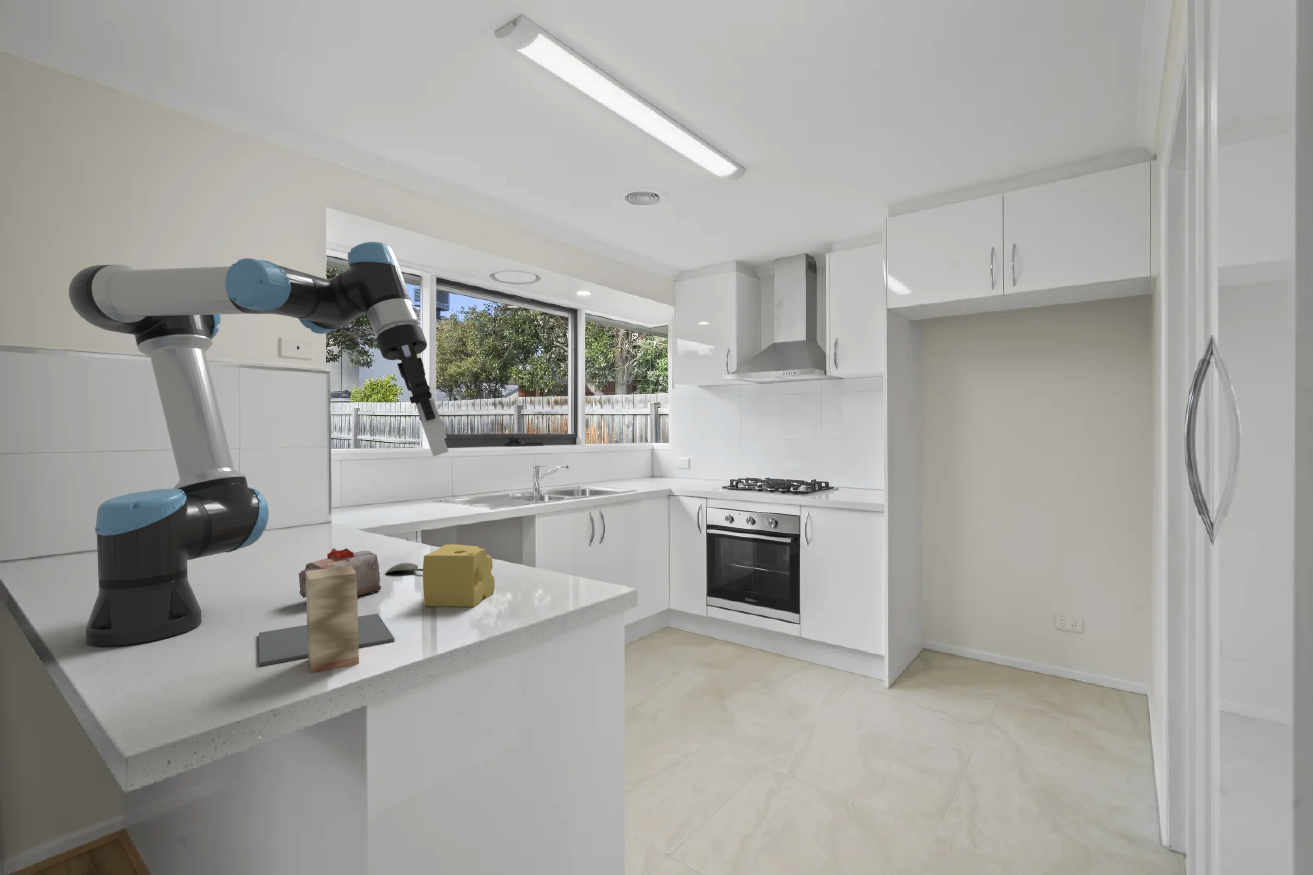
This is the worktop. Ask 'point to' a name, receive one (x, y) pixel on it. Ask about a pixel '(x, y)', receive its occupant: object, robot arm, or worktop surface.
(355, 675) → the worktop surface
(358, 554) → the food item
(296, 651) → the mat
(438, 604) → the cheese
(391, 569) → the soupspoon
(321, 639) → the block
